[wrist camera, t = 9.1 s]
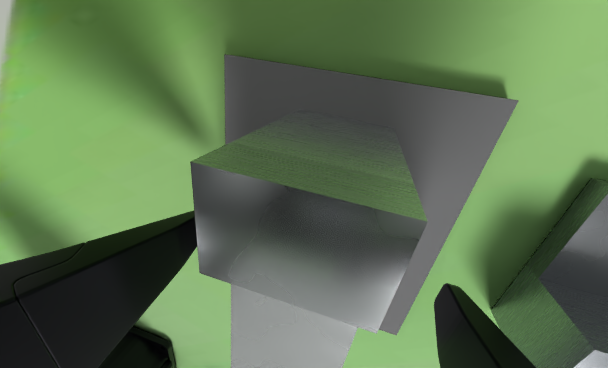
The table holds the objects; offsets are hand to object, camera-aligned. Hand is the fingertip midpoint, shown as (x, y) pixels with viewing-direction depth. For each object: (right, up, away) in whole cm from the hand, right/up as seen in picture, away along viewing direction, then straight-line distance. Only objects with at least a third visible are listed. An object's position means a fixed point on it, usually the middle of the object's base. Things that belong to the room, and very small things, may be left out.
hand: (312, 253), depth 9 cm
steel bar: (0, +1, +2) cm, 2 cm away
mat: (+1, +1, +3) cm, 3 cm away
